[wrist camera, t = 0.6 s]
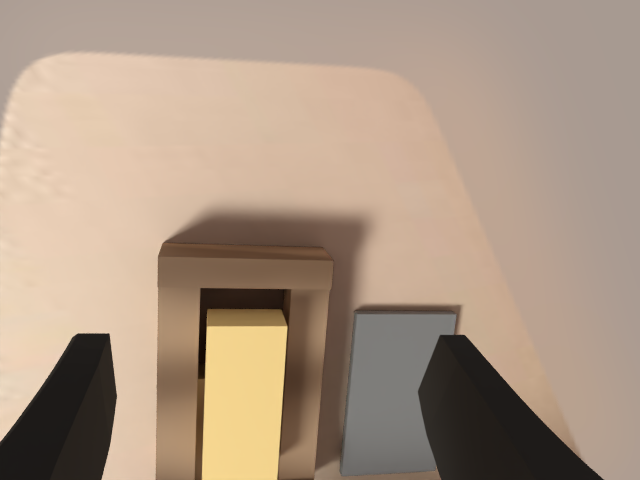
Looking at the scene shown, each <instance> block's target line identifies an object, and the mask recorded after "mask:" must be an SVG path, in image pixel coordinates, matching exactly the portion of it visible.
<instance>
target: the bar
mask: <svg viewBox="0 0 640 480" xmlns="http://www.w3.org/2000/svg"><path fill="white" fill-rule="evenodd" d="M286 340H287V324H286V321H285V318H284V315H283V313H282V310H281V309H207V334H206V364H205V394H204V424H203V454H202V480H277V475H278V460H279V445H280V430H281V415H282V400H283V385H284V370H285V355H286Z"/></svg>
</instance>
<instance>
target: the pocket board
mask: <svg viewBox="0 0 640 480" xmlns="http://www.w3.org/2000/svg"><path fill="white" fill-rule="evenodd" d="M333 264H334V261H333V259H332V258H331V257H330V256H329V254H328V253H327V252H326V251H325V250H324V248H323V247H291V246H256V245H221V244H186V243H163V244H162V247H161V250H160V253H159V255H158V351H157V428H156V480H202V454H203V424H204V394H205V364H206V363H198V355H199V322H200V289H201V288H246V289H284V301H283V315H284V318H285V321H286V324H287V340H286V355H285V370H284V385H283V400H282V415H281V430H280V445H279V460H278V475H277V480H314V471H315V459H316V447H317V435H318V423H319V411H320V399H321V387H322V375H323V363H324V351H325V339H326V327H327V315H328V303H329V291H330V290H331V288H332V276H333Z"/></svg>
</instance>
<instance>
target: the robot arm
mask: <svg viewBox="0 0 640 480" xmlns="http://www.w3.org/2000/svg"><path fill="white" fill-rule="evenodd" d="M418 396H419V401H420V407H421V412H422V417H423V421H424V426H425V430H426V435H427V438H428V441H429V444H430V447H431V450H432V453H433V456H434V459H435V462H436V465H437V468H438V471H439V474H440V477H441V480H603V479H602V478H601V477H600V476H599V475H598V474H597V473H596V472H594V471H593V470H592V469H591V468H590V467H589V466H587V464H585V463H584V462H583V461H582V460H581V459H580V458H579V457H578V456H577V455H576V454H575V453H574V452H573V451H572V450H571V449H570V448H569V447H568V446H567V445H565V444H564V443H563V442H562V441H561V440H560V439H559V438H558V437H557V436H556V435H555V434H554V433H553V432H552V431H551V430H550V429H549V428H548V427H547V426H546V425H545V424H544V422H543V421H542V420H541V419H540V418H539V417H538V416H537V415H536V414H535V413H534V412H533V411H532V410H531V409H530V408H529V407H528V406H527V405H526V403H525V402H524V401H523V400H522V399H521V398H520V397H519V396H518V395H517V394H516V392H515V391H514V390H513V389H512V388H511V387H510V386H509V385H508V384H507V382H506V381H505V380H504V379H503V378H502V377H501V376H500V374H499V373H498V372H497V371H496V370H495V369H494V368H493V367H492V365H491V364H490V363H489V362H488V361H487V360H486V358H485V357H484V356H483V355H482V354H481V353H480V352H479V350H478V349H477V348H476V347H475V346H474V345H473V344H472V342H471V341H470V340H469V339H468V338H467V337H466V336H465V335H440V336H439V338H438V341H437V343H436V346H435V349H434V351H433V354H432V356H431V359H430V361H429V364H428V366H427V369H426V371H425V374H424V377H423V379H422V382H421V384H420V387H419V389H418ZM116 399H117V394H116V385H115V377H114V368H113V360H112V351H111V343H110V334H77V335H75V336H74V337H73V338H72V339H71V341H70V343H69V344H68V346H67V348H66V350H65V351H64V353H63V354H62V356H61V358H60V359H59V361H58V362H57V364H56V366H55V367H54V369H53V370H52V372H51V373H50V375H49V376H48V378H47V379H46V381H45V382H44V384H43V385H42V387H41V388H40V390H39V391H38V392H37V394H36V395H35V397H34V398H33V399H32V401H31V402H30V403H29V405H28V406H27V408H26V409H25V410H24V412H23V413H22V414H21V416H20V417H19V419H18V420H17V421H16V423H15V424H14V425H13V427H12V428H11V429H10V431H9V432H8V433H7V434H6V436H5V437H4V438H3V439H2V441H1V442H0V480H101V479H102V475H103V471H104V467H105V463H106V459H107V455H108V451H109V447H110V442H111V435H112V428H113V421H114V414H115V407H116Z"/></svg>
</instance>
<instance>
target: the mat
mask: <svg viewBox="0 0 640 480" xmlns="http://www.w3.org/2000/svg"><path fill="white" fill-rule="evenodd" d="M455 322H456V314H455V313H454V312H453V311H355V313H354V323H353V334H352V345H351V355H350V366H349V376H348V387H347V398H346V408H345V419H344V429H343V440H342V451H341V461H340V473H341V476H358V475H375V474H392V473H409V472H426V471H435V469H436V462H435V459H434V456H433V453H432V450H431V447H430V444H429V441H428V438H427V435H426V430H425V426H424V421H423V417H422V412H421V407H420V401H419V396H418V389H419V387H420V384H421V382H422V379H423V377H424V374H425V371H426V369H427V366H428V364H429V361H430V359H431V356H432V354H433V351H434V349H435V346H436V343H437V341H438V338H439V336H440V335H454V330H455Z"/></svg>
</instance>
